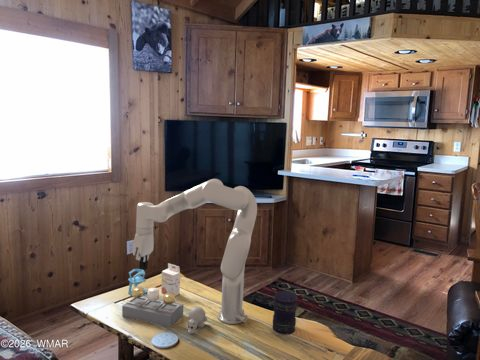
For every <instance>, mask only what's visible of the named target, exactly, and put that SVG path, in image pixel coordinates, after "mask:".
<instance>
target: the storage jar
mask: <svg viewBox="0 0 480 360" xmlns="http://www.w3.org/2000/svg"><path fill="white" fill-rule="evenodd" d="M297 302H298V296H297V295H296V294H295V293H293V292H291V291H287V290H283V291H277V292H275V293H274V299H273V311H274V312H273V314H272V330H273V331H274V333H276V334H279V335H284V336H287V335H292V334H294V333H295V331H296V324H297V322H296V321H297V319H296V318H297V317H296V313H297V312H296V311H297V309H298V308H297V306H298V303H297Z"/></svg>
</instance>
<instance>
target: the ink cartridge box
mask: <svg viewBox="0 0 480 360" xmlns="http://www.w3.org/2000/svg"><path fill="white" fill-rule="evenodd" d="M180 287H181V268H180V266H179V265H176V264H172V263H169V262H168V263H167V268H166V269H164V270H162V271H161V293H162V294H163V295H164V294H166V293H174V294H175V297H176V296H178V295H180V293H181V292H180V290H181V289H180Z"/></svg>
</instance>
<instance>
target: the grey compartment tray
mask: <svg viewBox="0 0 480 360" xmlns="http://www.w3.org/2000/svg"><path fill="white" fill-rule="evenodd" d="M121 307H122V309H121V311H122V315H121V316H122V317H123V318H129V319H133V320H137V321H141V322H145V323H148V324H149V323H150V324H155V325H158V326H164V327H167V328H171V327H172V326H173V325H174V324H175V323H176V322H177V321H178V320H179V319H180V318H181V317H182V316H183V315H184V303H180V302H176V301H175V303H173V304H164V302H163V299H161V298H159V299H158V300H156V301H149V300H148V295H147V296H146V295H143V296H142V297H139V298H135V297H132V298H130V299H129V300H127V302H126V303H124V304H123V305H122V306H121Z"/></svg>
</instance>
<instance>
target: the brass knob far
mask: <svg viewBox="0 0 480 360" xmlns="http://www.w3.org/2000/svg"><path fill="white" fill-rule="evenodd" d="M144 289H145V288H144V287H142V286H141V287H140V286H137V287H134V286H133V287H132V289H131V290H132V298H133V297H135V298H139V297H142V296H145V294H144Z"/></svg>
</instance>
